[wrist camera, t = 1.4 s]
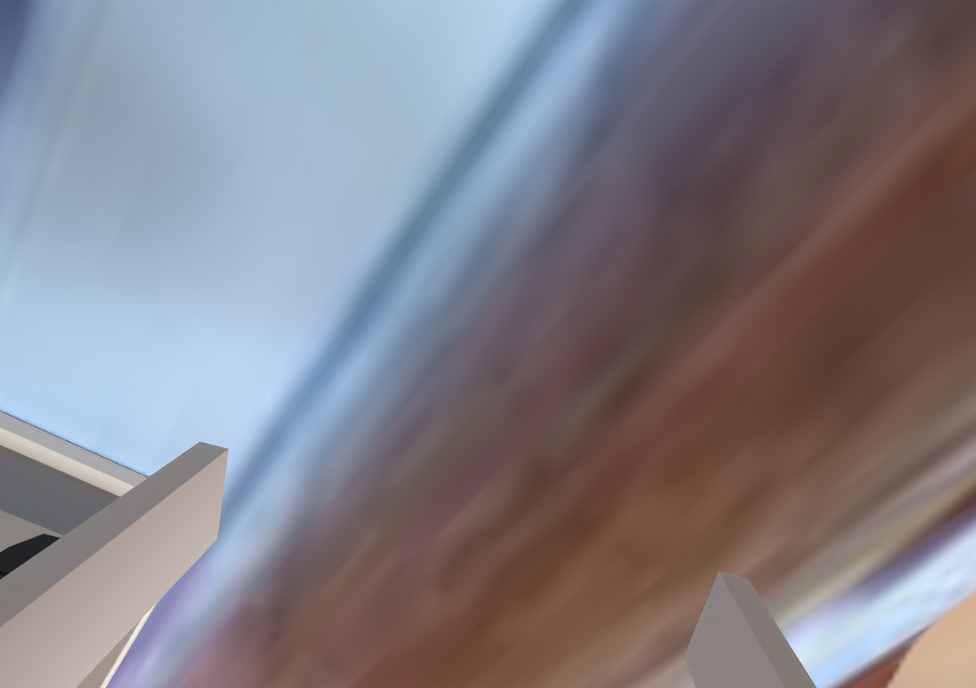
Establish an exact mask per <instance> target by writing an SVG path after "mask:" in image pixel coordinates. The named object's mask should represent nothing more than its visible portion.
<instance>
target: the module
mask: <svg viewBox="0 0 976 688" xmlns="http://www.w3.org/2000/svg"><path fill="white" fill-rule="evenodd" d="M119 497H120V496H117V495H115V494H113V493H110V492H108V491H106V490H103V489H101V488H99V487H96V486H94V485H92V484H90V483H87V482H85V481H83V480H80V479H78V478H76V477H73V476H71V475H69V474H66V473H64V472H62V471H60V470H57V469H55V468H53V467H50V466H48V465H46V464H43V463H41V462H39V461H36V460H34V459H32V458H29V457H27V456H25V455H23V454H20V453H18V452H16V451H13V450H11V449H9V448H6V447H4V446H2V445H0V552H1V551H3V550H5V549H6V548H8V547H10V546H12V545H15V544H18V543H20V542H23V541H25V540H28V539H31V538H33V537H36V536H38V535H41V534H48V535H52V536H56V537H60V538H61V537H63V536H64V535H66V534H67V533H69V532H70V531H72V530H73V529H74V528H76V527H77V526H79V525H80V524H82V523H83V522H85V521H86V520H87V519H89V518H90V517H92V516H93V515H95V514H96V513H98V512H99V511H101V510H102V509H103V508H105V507H106V506H108V505H109V504H111V503H112V502H114V501H115V500H116V499H118V498H119Z"/></svg>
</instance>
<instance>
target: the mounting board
mask: <svg viewBox="0 0 976 688" xmlns="http://www.w3.org/2000/svg"><path fill="white" fill-rule="evenodd" d="M0 445H2V446H4V447H6V448H9V449H11V450H13V451H16V452H18V453H20V454H23V455H25V456H27V457H29V458H32V459H34V460H36V461H39V462H41V463H43V464H46V465H48V466H50V467H53V468H55V469H57V470H60V471H62V472H64V473H66V474H69V475H71V476H73V477H76V478H78V479H80V480H83V481H85V482H87V483H90V484H92V485H94V486H96V487H99V488H101V489H103V490H106V491H108V492H110V493H113V494H115V495H117V496H120V497H121V496H122V495H124V494H125V493H127V492H128V491H130V490H131V489H132V488H134V487H135V486H137V485H138V484H140V483H141V482H143V481H144V480H145V479H147V478H148V477H145V476H143V475H141V474H139V473H136V472H134V471H132V470H130V469H128V468H125V467H123V466H121V465H119V464H116V463H114V462H112V461H110V460H107V459H105V458H103V457H101V456H99V455H96V454H94V453H92V452H90V451H87V450H85V449H83V448H81V447H78V446H76V445H74V444H72V443H70V442H67V441H65V440H63V439H61V438H58V437H56V436H54V435H52V434H49V433H47V432H45V431H43V430H41V429H38V428H36V427H34V426H32V425H29V424H27V423H25V422H23V421H20V420H18V419H16V418H14V417H12V416H9V415H7V414H5V413H3V412H0ZM157 603H158V602H157ZM157 603H156V604H157ZM156 604H155V605H154V606H153V607H152V608H151V609H150V610H149V611H148V612H147V613H146V614H145V615H144V617H143V618H142V620H141V621H140V623H139V625H138V626H137V628H136V630H135V631H134V633H133V635H132V636H131V638H130V640H129V641H128V643H127V645H126V646H125V648H124V650H123V651H122V653H121V655H120V656H119V658H118V660H117V661H116V663H115V665H114V666H113V668H112V670H111V671H110V673H109V675H108V676H107V678H106V680H105V681H104V683H103V685H102V686H101V688H106V687H107V685H108V684H109V682H110V680H111V679H112V677H113V675H114V674H115V672H116V670H117V669H118V667H119V666H120V664H121V662H122V661H123V659H124V657H125V656H126V654H127V652H128V651H129V649H130V647H131V646H132V644H133V642H134V641H135V639H136V637H137V636H138V634H139V632H140V631H141V629H142V627H143V626H144V624H145V622H146V621H147V619H148V618H149V616H150V614H151V613H152V611H153V609H154V608H155V606H156Z"/></svg>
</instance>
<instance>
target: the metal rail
mask: <svg viewBox="0 0 976 688" xmlns="http://www.w3.org/2000/svg"><path fill="white" fill-rule="evenodd" d="M141 620H142V619H141ZM141 620H140V621H141ZM140 621H139V622H138V623H137V624H136V625H135V626H134V627H133V628H132V629H131V630H130V631H129V632H128V633H127V634H126V635H125V636H124V637H123V639H122V640H121V641H120V642H119V643H118V644H117V645H116V646H115V647H114V648H113V649H112V650H111V651H110V652H109V653H108V654H107V655H106V656H105V657H104V658H103V660H102V661H101V662H100V663H99V664H98V665H97V666H96V667H95V668H94V669H93V670H92V671H91V672H90V673H89V674H88V675H87V676H86V677H85V678H84V679H83V681H82V682H81V683H80V684H79V685H78V686H77V687H76V688H101V686H102V685H103V683H104V681H105V680H106V678H107V676H108V675H109V673H110V671H111V670H112V668H113V666H114V665H115V663H116V661H117V660H118V658H119V656H120V655H121V653H122V651H123V650H124V648H125V646H126V645H127V643H128V641H129V640H130V638H131V636H132V635H133V633H134V631H135V630H136V628H137V626H138V625H139V623H140Z"/></svg>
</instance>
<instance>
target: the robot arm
mask: <svg viewBox="0 0 976 688" xmlns="http://www.w3.org/2000/svg"><path fill="white" fill-rule="evenodd" d="M227 457H228V449H227V448H223V447H219V446H215V445H211V444H207V443H203V442H199V443H198V444H196V445H195V446H193V447H192V448H190V449H189V450H187V451H186V452H185V453H183V454H182V455H180V456H179V457H177V458H176V459H174V460H173V461H172V462H170V463H169V464H167V465H166V466H164V467H163V468H161V469H160V470H158V471H157V472H156V473H154V474H153V475H151V476H150V477H148V478H147V479H145V480H144V481H143V482H141V483H140V484H138V485H137V486H135V487H134V488H132V489H131V490H130V491H128V492H127V493H125V494H124V495H122V496H121V497H119V498H118V499H116V500H115V501H114V502H112V503H111V504H109V505H108V506H106V507H105V508H103V509H102V510H101V511H99V512H98V513H96V514H95V515H93V516H92V517H90V518H89V519H87V520H86V521H85V522H83V523H82V524H80V525H79V526H77V527H76V528H74V529H73V530H72V531H70V532H69V533H67V534H66V535H64V536H63V537H61V538H60V537H56V536H52V535H48V534H41V535H38V536H36V537H33V538H31V539H28V540H25V541H23V542H20V543H18V544H15V545H12V546H10V547H8V548H6V549H5V550H3V551H1V552H0V688H76V687H77V686H78V685H79V684H80V683H81V682H82V681H83V679H84V678H85V677H86V676H87V675H88V674H89V673H90V672H91V671H92V670H93V669H94V668H95V667H96V666H97V665H98V664H99V663H100V662H101V661H102V660H103V658H104V657H105V656H106V655H107V654H108V653H109V652H110V651H111V650H112V649H113V648H114V647H115V646H116V645H117V644H118V643H119V642H120V641H121V640H122V639H123V637H124V636H125V635H126V634H127V633H128V632H129V631H130V630H131V629H132V628H133V627H134V626H135V625H136V624H137V623H138V622H139V621H140V620H141V619H142V618H143V617H144V615H145V614H146V613H147V612H148V611H149V610H150V609H151V608H152V607H153V606H154V605H155V604H156V603H157V602H158V601H159V600H160V599H161V598H162V597H163V596H164V594H165V593H166V592H167V591H168V590H169V589H170V588H171V587H172V586H173V585H174V584H175V583H176V582H177V581H178V580H179V579H180V578H181V577H182V576H183V575H184V573H185V572H186V571H187V570H188V569H189V568H190V567H191V566H192V565H193V564H194V563H195V562H196V561H197V560H198V559H199V558H200V557H201V556H202V555H203V554H204V552H205V551H206V550H207V549H208V548H209V547H210V546H211V545H212V544H213V543H214V542H215V541H216V540H217V538H218V530H219V522H220V513H221V505H222V497H223V489H224V481H225V473H226V465H227ZM684 657H685V660H686V662H687V665H688V668H689V670H690V673H691V676H692V678H693V681H694V684H695V686H696V688H816V686H815V684H814V683H813V681H812V680H811V678H810V677H809V675H808V673H807V672H806V670H805V669H804V667H803V666H802V664H801V662H800V661H799V659H798V658H797V656H796V654H795V653H794V651H793V650H792V648H791V647H790V645H789V643H788V642H787V640H786V639H785V637H784V636H783V634H782V632H781V631H780V629H779V628H778V626H777V624H776V623H775V621H774V620H773V618H772V617H771V615H770V613H769V612H768V610H767V609H766V607H765V606H764V604H763V602H762V601H761V599H760V598H759V596H758V594H757V593H756V591H755V590H754V588H753V587H752V585H751V583H750V582H749V580H748V579H746V578H742V577H738V576H734V575H730V574H726V573H722V572H719V573H718V575H717V577H716V580H715V582H714V585H713V587H712V590H711V592H710V594H709V597H708V599H707V602H706V604H705V607H704V609H703V612H702V614H701V616H700V619H699V621H698V624H697V626H696V629H695V631H694V633H693V636H692V638H691V641H690V643H689V646H688V648H687V651H686V653H685V655H684Z"/></svg>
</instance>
